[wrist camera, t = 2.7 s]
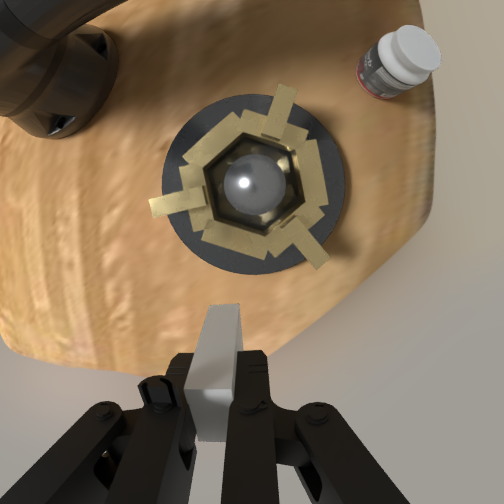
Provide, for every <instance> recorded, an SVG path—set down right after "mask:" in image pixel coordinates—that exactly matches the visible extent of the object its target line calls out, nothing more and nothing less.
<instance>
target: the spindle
mask: <svg viewBox="0 0 504 504" xmlns="http://www.w3.org/2000/svg"><path fill="white" fill-rule="evenodd" d="M285 189H286V181H285V176H284V173H283V171H282V169H281V168H280V166H279V165H278V164H277V163H276V162H275V161H274V160H272V159H271V158H269V157H267V156H264V155H260V154H250V155H246V156H243V157H241V158H239V159H237V160H236V161H235V162H234V163H232V165H231V166H230V167H229V169H228V170H227V172H226V175H225V179H224V190H225V194H226V197H227V199H228V201H229V202H230V203H231V205H232V206H233V207H234V208H236V209H237V210H239V211H240V212H242V213H245V214H249V215H261V214H265V213H268V212H269V211H271V210H273V209H274V208H275V207H276V206H277V205H278V204H279V203H280V202H281V200H282V198H283V196H284V193H285Z"/></svg>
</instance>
